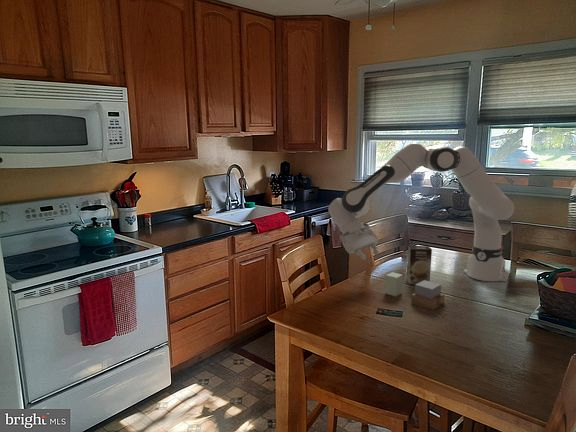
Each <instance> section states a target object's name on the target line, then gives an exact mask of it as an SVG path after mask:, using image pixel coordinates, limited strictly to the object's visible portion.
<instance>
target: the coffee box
mask: <svg viewBox="0 0 576 432" xmlns="http://www.w3.org/2000/svg"><path fill="white" fill-rule="evenodd" d="M432 252H433V249H432V248H431V247H430V246H429V245H408V246H407V259H406V260H407V261H406V262H407V263H406V265H407V266H406V278H405V279H406V281H407V283H408V284H409V285H412V284H413V285H415V284H417V283H420V282H422V281H424V280H426V281H429V282H431V280H430V279H431V270H432V267H431V266H432Z"/></svg>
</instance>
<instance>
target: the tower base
mask: <svg viewBox="0 0 576 432" xmlns="http://www.w3.org/2000/svg"><path fill="white" fill-rule="evenodd" d="M410 301H411V304H412V305H416V306H418V307H422V308H425V309H428V310H432V311H433V310H435V309H437V308H439V307H440V306H442V305H443V304H445V294H444V293H442V292H441V294H440V295H438V296H437V297H435V298H433V299H429V298H426V297H422V296H419V295H416V294H415V292H414V293H412V294H411V300H410Z"/></svg>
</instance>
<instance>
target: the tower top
mask: <svg viewBox="0 0 576 432" xmlns="http://www.w3.org/2000/svg"><path fill="white" fill-rule="evenodd" d="M441 291H442V284H441V283H436V282H432V281H430V282H429V281H426V280H424V281H422V282H420V283H417V284H414V293H415V294H416V295H419V296H422V297H426V298H429V299H433V298H435V297H437V296H438V295H440V294H441V293H442V292H441Z"/></svg>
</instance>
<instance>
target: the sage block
mask: <svg viewBox="0 0 576 432" xmlns="http://www.w3.org/2000/svg"><path fill="white" fill-rule="evenodd" d="M403 277H404V275H403V274H401V273H397V272H393V271H392V272H390V273H388V274H385V285H384V289H385V290H384V293H385V294H387V295H390V296H392V297H398V296H400V295H401V294H403V279H404V278H403Z"/></svg>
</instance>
